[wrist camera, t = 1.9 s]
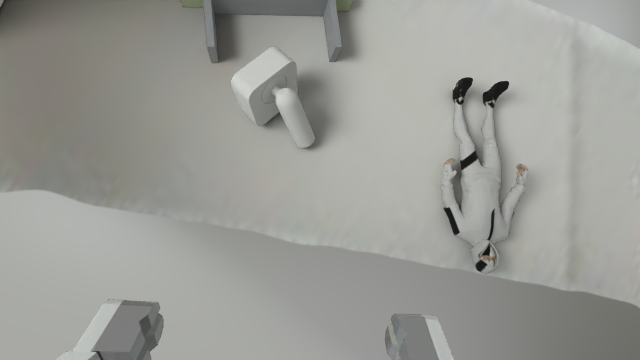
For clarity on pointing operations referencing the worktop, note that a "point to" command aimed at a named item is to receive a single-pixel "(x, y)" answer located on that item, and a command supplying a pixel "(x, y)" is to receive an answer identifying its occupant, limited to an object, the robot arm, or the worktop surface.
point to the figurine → (480, 184)
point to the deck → (297, 3)
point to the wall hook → (273, 94)
